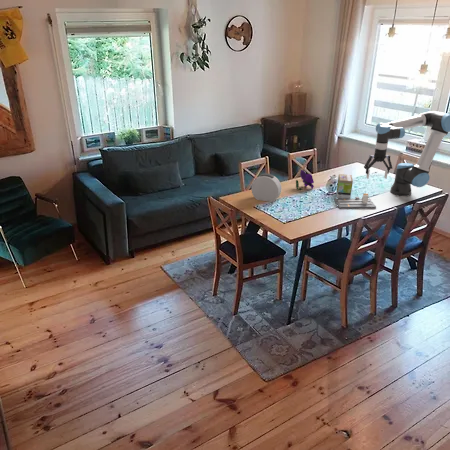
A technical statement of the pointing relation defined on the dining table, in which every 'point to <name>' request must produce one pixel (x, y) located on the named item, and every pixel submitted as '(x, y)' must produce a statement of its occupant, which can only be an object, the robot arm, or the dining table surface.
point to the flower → (305, 180)
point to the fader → (365, 198)
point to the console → (354, 204)
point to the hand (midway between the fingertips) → (376, 178)
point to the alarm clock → (266, 188)
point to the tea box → (344, 186)
